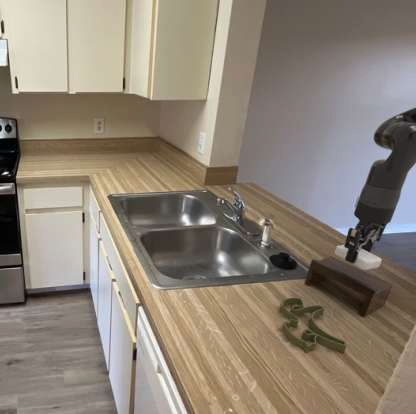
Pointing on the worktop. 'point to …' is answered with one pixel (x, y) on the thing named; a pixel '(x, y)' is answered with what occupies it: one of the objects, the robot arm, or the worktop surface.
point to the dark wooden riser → (351, 281)
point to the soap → (360, 258)
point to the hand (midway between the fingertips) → (356, 258)
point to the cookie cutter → (307, 335)
